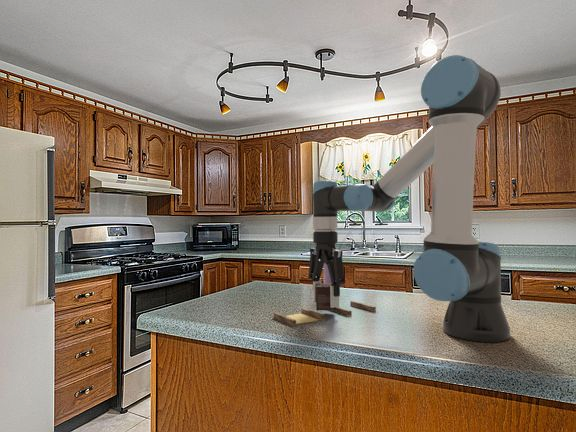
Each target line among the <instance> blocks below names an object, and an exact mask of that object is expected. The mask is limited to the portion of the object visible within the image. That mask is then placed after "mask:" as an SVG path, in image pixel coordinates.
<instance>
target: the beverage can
mask: <svg viewBox="0 0 576 432" xmlns="http://www.w3.org/2000/svg"><path fill="white" fill-rule="evenodd" d="M335 281H336V280H335ZM323 284H332V281H331V278H330V274H329V270H328V266H327V264H325V263H324V266H323ZM340 296H341V295H340ZM340 296H339V298H340Z"/></svg>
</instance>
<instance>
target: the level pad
mask: <svg viewBox="0 0 576 432" xmlns="http://www.w3.org/2000/svg"><path fill="white" fill-rule="evenodd" d="M286 316H287V317H289V318H292V319H294V320H296V326H297V325H301V324H307V323H312V322H319V320H318V319H315V318H313V317H310V316H307V315H305V314H302V312H301V313H295V314H289V315H286Z"/></svg>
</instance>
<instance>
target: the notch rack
mask: <svg viewBox="0 0 576 432" xmlns="http://www.w3.org/2000/svg"><path fill="white" fill-rule="evenodd" d="M349 306H351V307H354V308H359V309H360V310H361V309H362V310H364V311H368V312H372V313H375V312H377V311H376V310H377V307H376V306H374V305H369V304H366V303H362V302H359V301H354V300H350V303H349ZM331 311H332V312H334V313H337V314H341V315H343V316H347V317H351V316H352V315H353V314H352V313H353V311H352V310H349V309H346V308H343V307H340V306H339V307H336V311H335V310H330V312H331ZM301 313H302V314H305V315H307V316H310V317H313V318H315V319H318V321H320V322H321V321H322V322H325V321H326V315H325V314H323V313H319V312H316V311H314V310H310V309H308V308H305V307H303V308H301ZM287 316H288V315H284V314H281V313H280V312H277V311H276V312H273V319H276V320H278V321H280V322H282V323H284V324H287V325H289V326H292V327H297V325H296V320H294V319H292V318H289V317H287Z"/></svg>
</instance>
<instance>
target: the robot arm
mask: <svg viewBox="0 0 576 432" xmlns="http://www.w3.org/2000/svg"><path fill="white" fill-rule="evenodd" d="M420 96H421V98H422V100H423V102H424V104H425V105H426V106H427V107H428V124H429V125H430V126H431V127H430V128H428V130H427V131H426V132H425V133H424V134H423V135H422V136H421V137H420V138H419V139H418V140H417V141H416V142H415V143H414V144H413V145H412V146H411V147H410V148H409V149H408V151H407V152H405V153H404V154H403V155H401V157H400V158H399V159H398V160H397V161H396V162H395V163H394V164H393V165H392V167H390V168H389V169H388V170H387V171H386V172H385V173H384V174H383V175H382V176H381V178H379V179H378V180H377V181H376V182H375V183H374V184H373V185H372V186H369V185H368V184H364V183H353V184H345V185H339V186H338V183H337V181H336V180H316V181H314V183H313V185H312V186H313V187H312V213H313V214H312V229H313V230H314V231H313V233H312V235H313V238H312V241H313V244H315V247H311V248H309V265H308V266H309V267H308V276H307V277H308V278H309V279H310V280H311V281H312V290H313V292H312V296H313V298H312V299H313V303H316V284H317V283H321V284H323V283H322V281H323V280H322V278H321V276H322V274H323V273H322V272H323V270H324V263H325V264H327V266H328V270H329V274H330V278H331V281H332V284H330V307H331V308H334V307H340V297H339V296H341V289H340V288H341V285H344V284H345V283H346V280H345V279H346V278H345V271H344V265H343V264H344V263H343V262H344V261H343V250H341V249H340V250H338V249H336V244H338V240H339V239H338V234H339V233H338V232H337V231H336V230H338V212H353V211H354V212H376V213H383V212H387V211H390V210H392V209H393V208H394V205H395V204H396V198H397V197H398V196H399V195H400V194H402V193H403V192H404V191H405V190H406V189H407V188H408V187H409V186H410V185H411V184H412V183H414V181H416V180H417V179H418V178H419V177H420V176H421V175H422V174H424V172H426V171H427V169H429V168H430V167H431V166H433V172H432V173H433V174H432V175H433V176H432V195H431V200H432V201H431V217H430V218H431V221H430V232H429V234H427V235H426V236H425V237H424V238H423V248H422V249H423V250H422V252H421V253H420V254H419V256H418V257H416V259H415V261H414V263H413V277H414V280H415V283H416V285H417V286H418V288H419V289H420V290H421V291H422V293H424V294H425V295H426V296H427V297H429V298H430V299H433V300H436V301H439V302H449V303H448V306H447V309H446V311H445V314H444V318H443V321H442V330H443V332H444V333H445V334H447V335H449V336H451V337H455V338H458V339H462V340H467V341H470V342H471V341H473V342H479V343H480V342H481V343H501V342H506V341H508V340H510V339H511V326H510V325H509V323H508V319H507V316H506V314H505V312H504V309H503V306H502V305H503V304H502V275H501V274H502V273H501V269H502V268H501V266H502V265H501V262H502V256H501V249H500V247H499V245H498V244H496V243H493V242H485V241H478V239H477V238H476V237H475V236H474V235H473V232H472V231H473V213H474V192H475V191H474V187H475V171H476V170H475V169H476V168H475V166H476V148H477V147H476V144H477V143H476V142H477V141H476V140H477V130H478V129H479V128H480V127H481V126H482V124H484V123H485V122H486V121H487V119H488V118H490V116H491V115H492V114H493V113H494V112H495V110H496V108H497V106H498V104H499V102H500V99H501V84H500V82H499V80H498V79H497V77H496V75H495V74H493V73H491V72H490V71H489V70H486V69H485V68H483V67H482V66H481V65H479V64H478V63H477V62H476V61H475V60H473V59H472V58H468V57H466V56H464V55H460V54H455V55H454V54H453V55H448V56H445V57H443V58H441V59H439V60H438V61H437V62H435V63H433V65H432V66H431V67H430V69H429V70H427V71H426V73H425V75H424V77H423V79H422V81H421V85H420ZM335 280H336V281H335Z"/></svg>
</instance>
